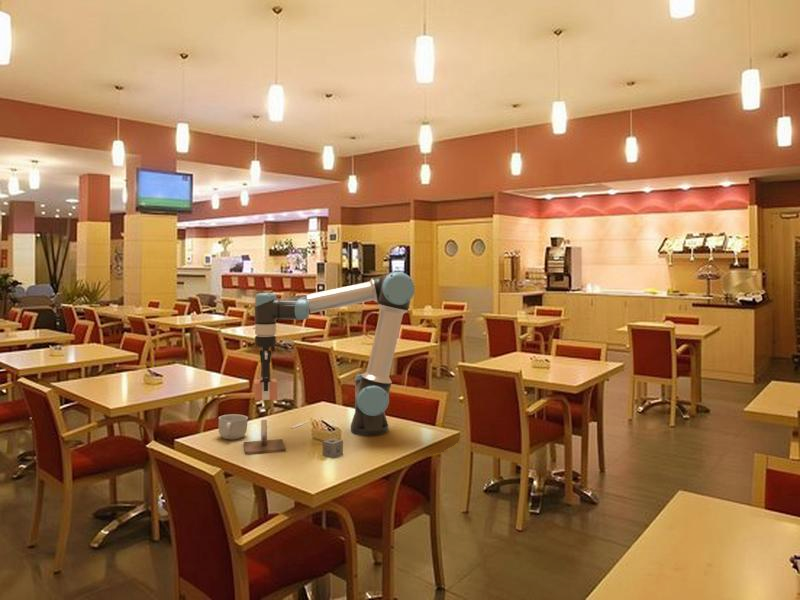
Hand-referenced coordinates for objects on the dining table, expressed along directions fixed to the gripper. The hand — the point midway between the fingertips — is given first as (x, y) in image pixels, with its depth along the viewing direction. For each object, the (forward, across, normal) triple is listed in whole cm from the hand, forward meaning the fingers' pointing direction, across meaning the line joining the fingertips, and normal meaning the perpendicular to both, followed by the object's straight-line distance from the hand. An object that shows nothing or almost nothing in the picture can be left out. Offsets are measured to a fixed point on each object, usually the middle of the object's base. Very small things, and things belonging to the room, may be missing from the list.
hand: (265, 396), depth 214 cm
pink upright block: (0, 0, 0) cm, 0 cm away
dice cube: (+18, +18, +22) cm, 34 cm away
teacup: (+18, -10, -12) cm, 24 cm away
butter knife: (+18, -29, +20) cm, 40 cm away
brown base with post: (+18, +5, 0) cm, 18 cm away
